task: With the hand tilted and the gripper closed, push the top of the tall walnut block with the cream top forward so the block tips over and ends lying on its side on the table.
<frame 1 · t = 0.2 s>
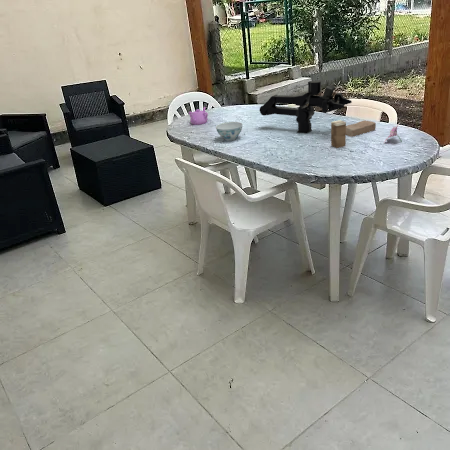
hand: (347, 104, 229), 16 cm above the table, tool horizontal, fingers open, 9 cm apart
walnut block: (338, 145, 223), on the table
brick: (358, 133, 239), on the table
chinaware: (230, 139, 254), on the table
lily: (392, 141, 220), on the table
teapot: (199, 123, 294), on the table
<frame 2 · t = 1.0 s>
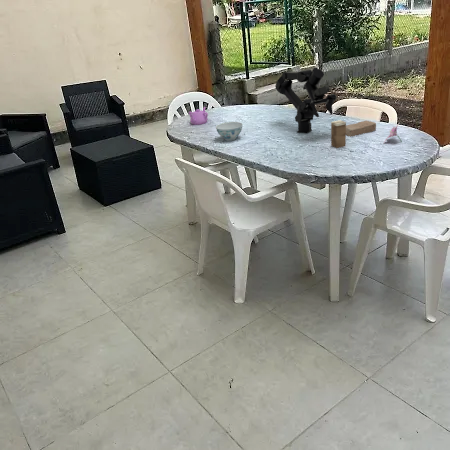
hand: (325, 115, 228), 13 cm above the table, tool tilted 45°, fingers open, 8 cm apart
nothing on the table moved.
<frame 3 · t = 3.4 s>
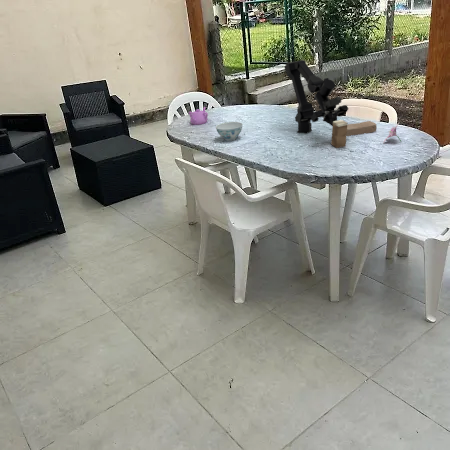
hand: (336, 127, 220), 9 cm above the table, tool tilted 45°, fingers closed
walnut block: (338, 145, 223), on the table, tilted 7°
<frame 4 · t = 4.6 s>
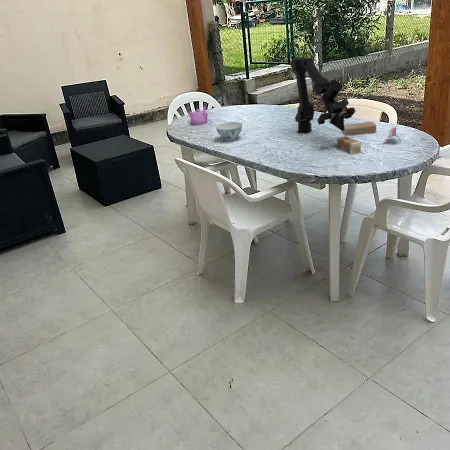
hand: (343, 130, 215), 9 cm above the table, tool tilted 45°, fingers closed
walnut block: (341, 142, 220), point 2 cm above the table, tilted 90°
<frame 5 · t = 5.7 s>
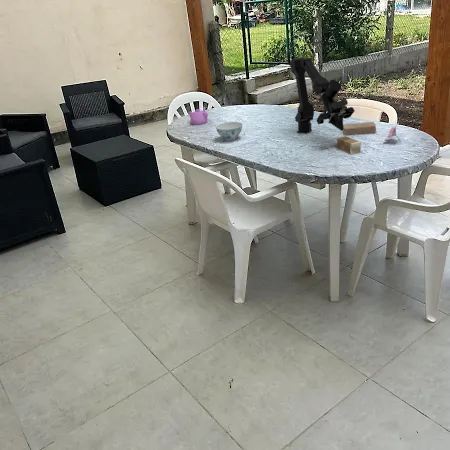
hand: (342, 130, 216), 9 cm above the table, tool tilted 45°, fingers closed
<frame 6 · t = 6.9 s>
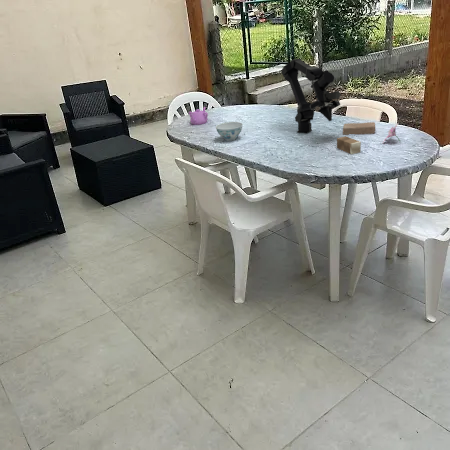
hand: (330, 120, 225), 11 cm above the table, tool tilted 35°, fingers closed
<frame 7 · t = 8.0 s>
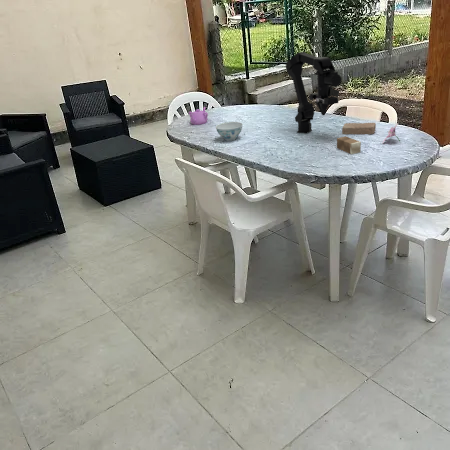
hand: (323, 115, 231), 12 cm above the table, tool pointing down, fingers closed
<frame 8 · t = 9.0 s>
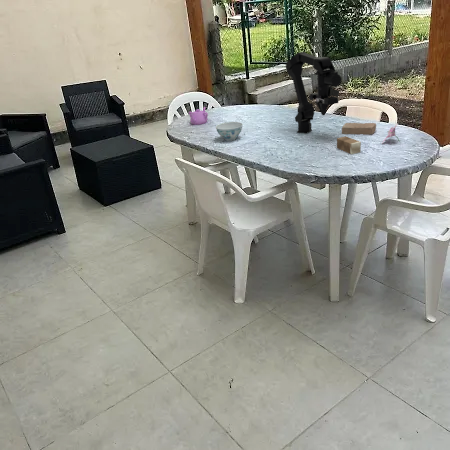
hand: (323, 115, 231), 12 cm above the table, tool pointing down, fingers closed
at the end: walnut block tilted 90°; walnut block inside the target area (2.7 cm from its centre), point 2.4 cm above the table; the gripper is holding nothing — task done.
